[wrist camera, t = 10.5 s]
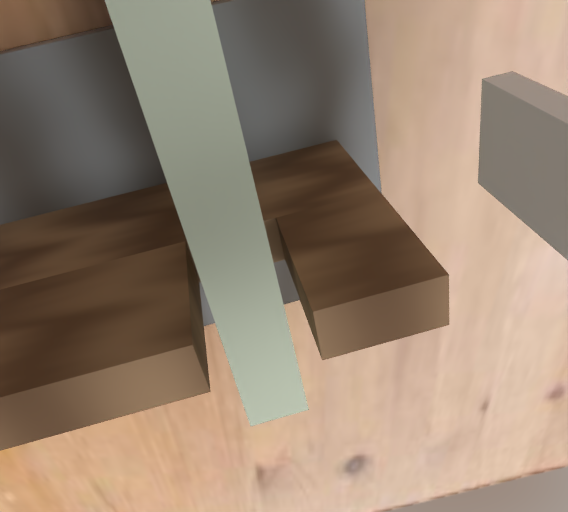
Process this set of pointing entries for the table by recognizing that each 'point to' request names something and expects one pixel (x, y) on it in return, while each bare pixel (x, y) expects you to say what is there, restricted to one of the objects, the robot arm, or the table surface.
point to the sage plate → (213, 191)
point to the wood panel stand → (166, 224)
